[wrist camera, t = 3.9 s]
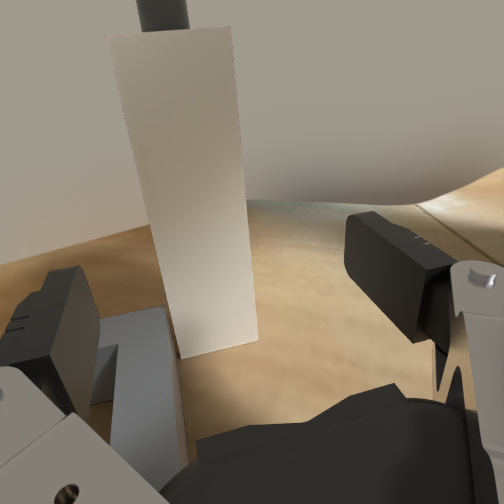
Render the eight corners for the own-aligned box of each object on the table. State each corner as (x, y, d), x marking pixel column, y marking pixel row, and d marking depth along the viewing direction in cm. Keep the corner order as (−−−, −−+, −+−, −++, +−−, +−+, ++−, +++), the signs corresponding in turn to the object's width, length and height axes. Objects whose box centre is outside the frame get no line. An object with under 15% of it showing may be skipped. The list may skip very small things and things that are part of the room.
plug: (175, 311, 25) (99, -24, 16) (240, 297, 26) (204, -28, 17) (181, 359, 21) (86, -50, 12) (258, 340, 22) (223, -55, 13)
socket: (-33, 402, 19) (-66, 354, 18) (176, 352, 21) (164, 304, 20) (-200, 731, 10) (-305, 695, 8) (202, 584, 12) (185, 532, 10)
